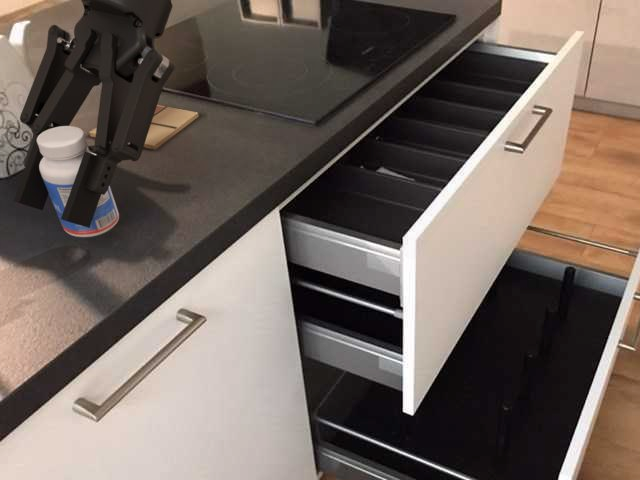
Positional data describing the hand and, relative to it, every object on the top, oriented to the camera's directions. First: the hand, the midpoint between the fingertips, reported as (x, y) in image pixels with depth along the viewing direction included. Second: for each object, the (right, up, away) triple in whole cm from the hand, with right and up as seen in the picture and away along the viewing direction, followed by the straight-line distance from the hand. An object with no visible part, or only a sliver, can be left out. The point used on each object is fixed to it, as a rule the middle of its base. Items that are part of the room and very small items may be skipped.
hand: (51, 214), depth 61 cm
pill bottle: (+2, -1, +5) cm, 5 cm away
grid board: (-1, +15, +27) cm, 31 cm away
